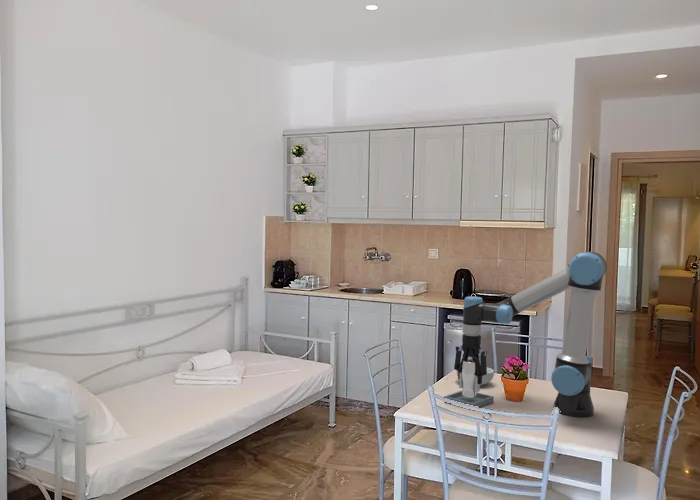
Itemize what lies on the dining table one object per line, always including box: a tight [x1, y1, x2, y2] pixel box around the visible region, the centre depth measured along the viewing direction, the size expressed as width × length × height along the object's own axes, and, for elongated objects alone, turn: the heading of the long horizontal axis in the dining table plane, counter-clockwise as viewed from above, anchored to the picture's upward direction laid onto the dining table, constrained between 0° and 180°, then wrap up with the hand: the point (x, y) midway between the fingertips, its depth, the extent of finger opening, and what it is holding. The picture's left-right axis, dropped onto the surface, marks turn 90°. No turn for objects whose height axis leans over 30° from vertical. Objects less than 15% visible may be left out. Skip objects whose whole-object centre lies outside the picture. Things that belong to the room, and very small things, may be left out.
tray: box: [443, 389, 495, 408], centre depth 252 cm, size 14×16×2 cm
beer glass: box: [462, 358, 477, 399], centre depth 251 cm, size 7×7×15 cm
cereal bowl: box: [456, 367, 495, 387], centre depth 282 cm, size 17×17×7 cm
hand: (469, 389), depth 252 cm, fingers closed on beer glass, 7 cm apart
